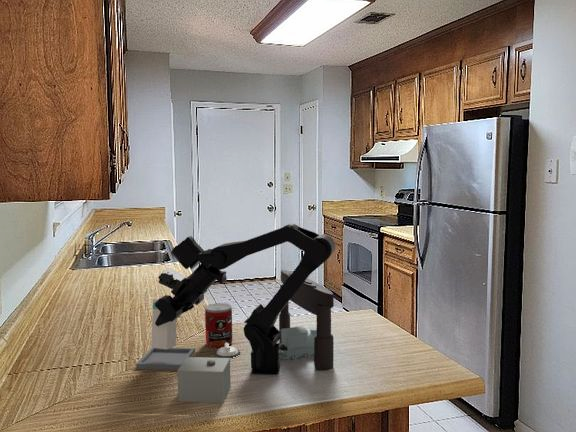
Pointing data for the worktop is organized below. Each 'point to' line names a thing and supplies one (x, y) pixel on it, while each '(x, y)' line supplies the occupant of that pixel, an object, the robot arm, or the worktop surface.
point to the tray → (164, 358)
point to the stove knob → (227, 352)
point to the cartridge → (162, 331)
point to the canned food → (218, 324)
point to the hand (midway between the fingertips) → (160, 321)
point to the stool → (319, 338)
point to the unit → (204, 379)
